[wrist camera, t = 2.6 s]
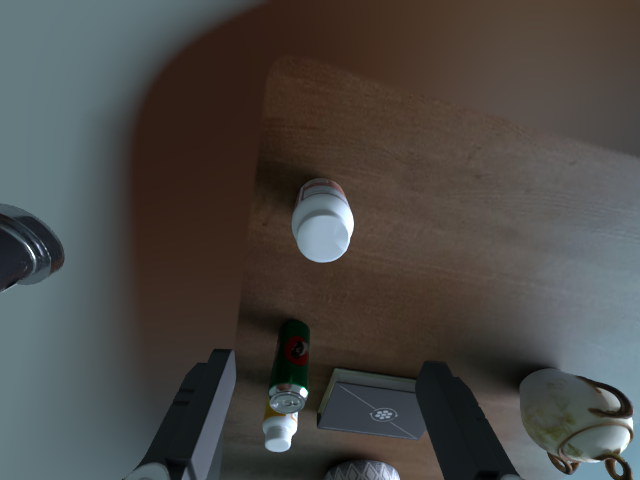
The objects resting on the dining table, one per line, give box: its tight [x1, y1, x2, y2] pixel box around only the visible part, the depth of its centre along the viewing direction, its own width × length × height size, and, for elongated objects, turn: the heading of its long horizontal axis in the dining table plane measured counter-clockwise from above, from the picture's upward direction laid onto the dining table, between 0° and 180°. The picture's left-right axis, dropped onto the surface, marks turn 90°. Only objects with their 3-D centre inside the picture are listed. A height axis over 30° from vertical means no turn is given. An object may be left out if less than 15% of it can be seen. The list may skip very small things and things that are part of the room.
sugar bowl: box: [519, 368, 634, 480], centre depth 41 cm, size 20×15×15 cm
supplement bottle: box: [263, 397, 298, 452], centre depth 43 cm, size 6×6×10 cm
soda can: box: [268, 320, 310, 414], centre depth 36 cm, size 5×5×12 cm
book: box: [317, 367, 427, 440], centre depth 49 cm, size 22×15×3 cm
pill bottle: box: [292, 178, 354, 262], centre depth 27 cm, size 6×6×11 cm
